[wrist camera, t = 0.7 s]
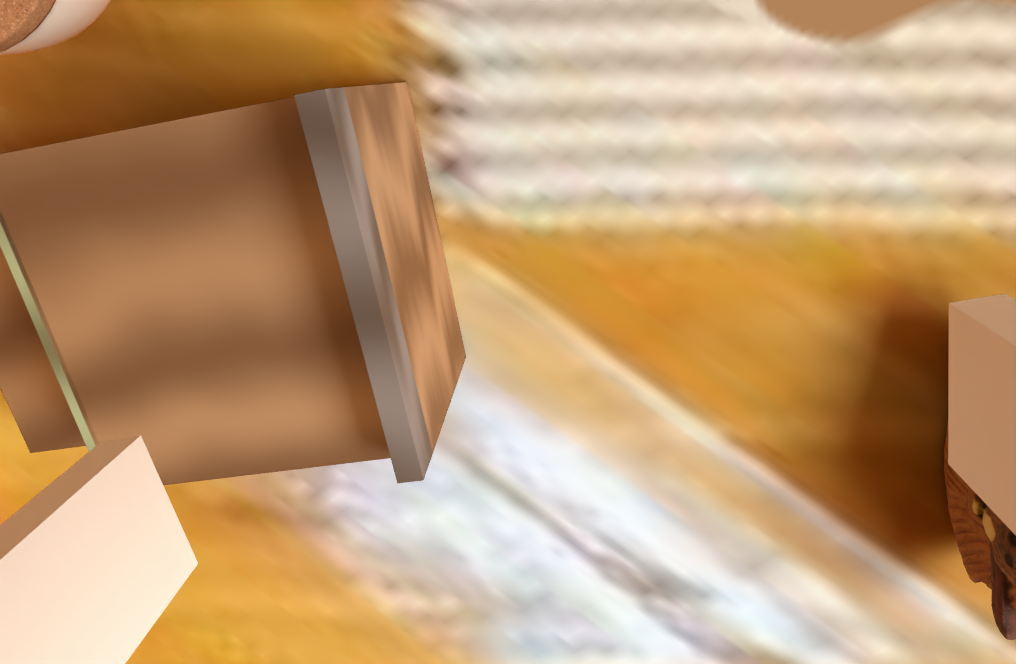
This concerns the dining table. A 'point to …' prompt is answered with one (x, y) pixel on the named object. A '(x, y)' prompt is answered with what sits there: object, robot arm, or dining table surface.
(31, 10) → the lidded jar
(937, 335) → the dining table surface
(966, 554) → the wooden carving
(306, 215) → the stepped stand
